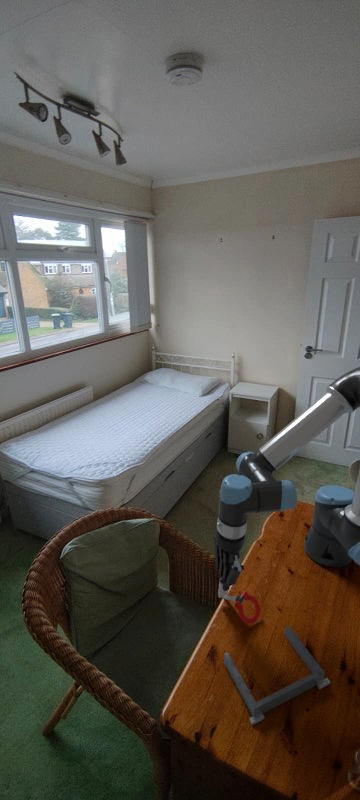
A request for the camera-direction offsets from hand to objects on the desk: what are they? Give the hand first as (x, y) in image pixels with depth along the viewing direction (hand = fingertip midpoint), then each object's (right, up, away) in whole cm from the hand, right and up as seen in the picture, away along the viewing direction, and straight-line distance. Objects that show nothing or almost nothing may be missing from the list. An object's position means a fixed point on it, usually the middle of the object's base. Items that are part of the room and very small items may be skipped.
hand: (222, 595), depth 107 cm
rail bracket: (+10, -9, -18) cm, 22 cm away
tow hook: (+7, -5, -2) cm, 9 cm away
